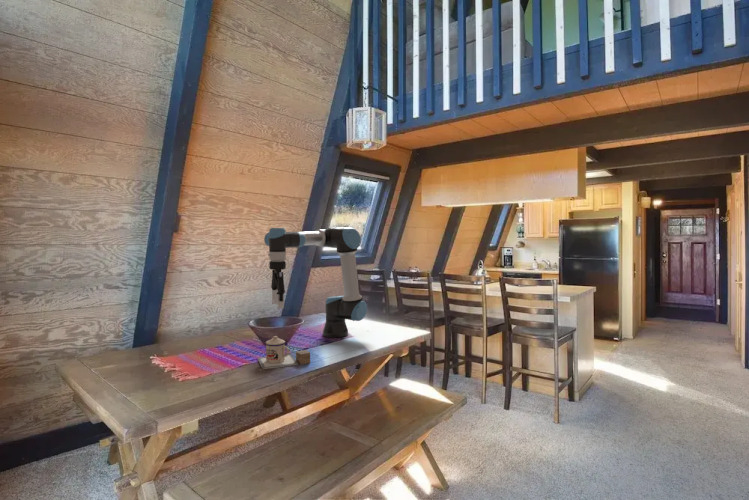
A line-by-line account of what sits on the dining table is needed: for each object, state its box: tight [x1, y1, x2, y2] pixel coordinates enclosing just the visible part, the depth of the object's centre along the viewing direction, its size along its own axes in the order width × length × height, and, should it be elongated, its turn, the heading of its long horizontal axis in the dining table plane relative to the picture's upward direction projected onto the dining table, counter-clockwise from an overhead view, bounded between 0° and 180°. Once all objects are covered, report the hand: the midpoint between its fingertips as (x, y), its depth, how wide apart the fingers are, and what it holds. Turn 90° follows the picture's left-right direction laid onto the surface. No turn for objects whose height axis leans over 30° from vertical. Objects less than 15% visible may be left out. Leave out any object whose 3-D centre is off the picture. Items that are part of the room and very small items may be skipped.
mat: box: [257, 353, 299, 370], centre depth 196 cm, size 16×16×1 cm
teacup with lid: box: [265, 335, 290, 363], centre depth 195 cm, size 12×9×12 cm
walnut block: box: [295, 349, 311, 365], centre depth 195 cm, size 5×5×5 cm
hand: (277, 305), depth 195 cm, fingers open, 13 cm apart
